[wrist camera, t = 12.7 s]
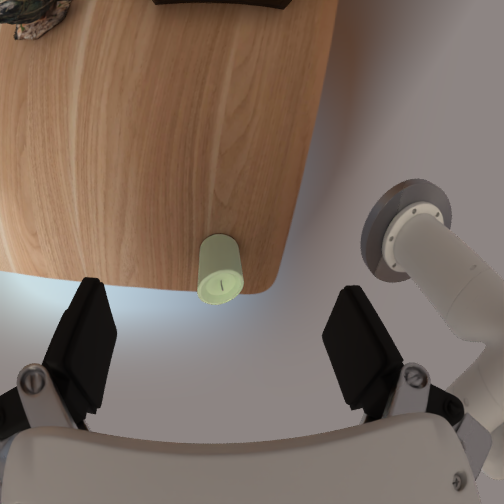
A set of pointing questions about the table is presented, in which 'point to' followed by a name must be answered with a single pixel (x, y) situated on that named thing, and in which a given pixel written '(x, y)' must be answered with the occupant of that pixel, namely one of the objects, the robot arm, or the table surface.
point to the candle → (219, 270)
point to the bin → (266, 0)
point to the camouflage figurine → (32, 15)
